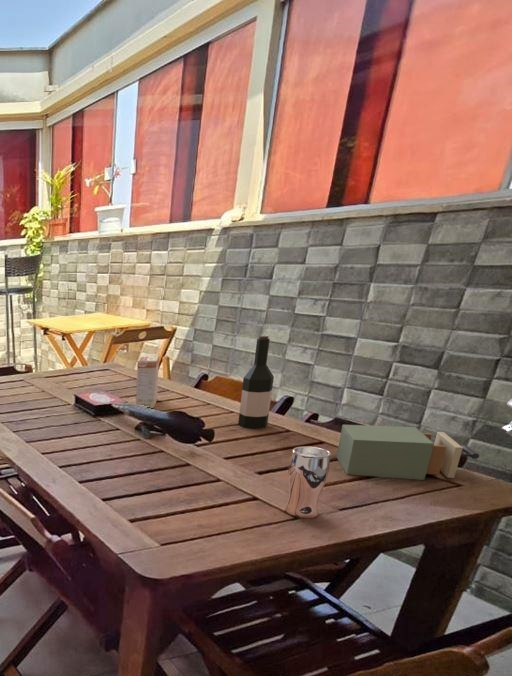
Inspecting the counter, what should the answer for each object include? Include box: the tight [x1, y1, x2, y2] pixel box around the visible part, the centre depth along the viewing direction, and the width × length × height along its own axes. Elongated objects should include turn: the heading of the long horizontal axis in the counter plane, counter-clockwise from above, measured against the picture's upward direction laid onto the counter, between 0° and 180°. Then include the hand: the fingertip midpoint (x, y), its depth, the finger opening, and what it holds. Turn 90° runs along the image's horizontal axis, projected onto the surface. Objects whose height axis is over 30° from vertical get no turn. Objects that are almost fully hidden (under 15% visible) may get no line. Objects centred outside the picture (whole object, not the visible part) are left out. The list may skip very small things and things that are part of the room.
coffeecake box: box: [135, 353, 160, 408], centre depth 200 cm, size 15×7×20 cm, turn 150°
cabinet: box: [335, 424, 435, 481], centre depth 127 cm, size 15×13×10 cm
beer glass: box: [284, 445, 332, 519], centre depth 110 cm, size 7×7×15 cm
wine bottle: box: [237, 335, 275, 430], centre depth 162 cm, size 8×8×30 cm
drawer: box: [422, 431, 480, 479], centre depth 123 cm, size 18×11×8 cm, turn 61°
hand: (506, 432), depth 114 cm, fingers closed
